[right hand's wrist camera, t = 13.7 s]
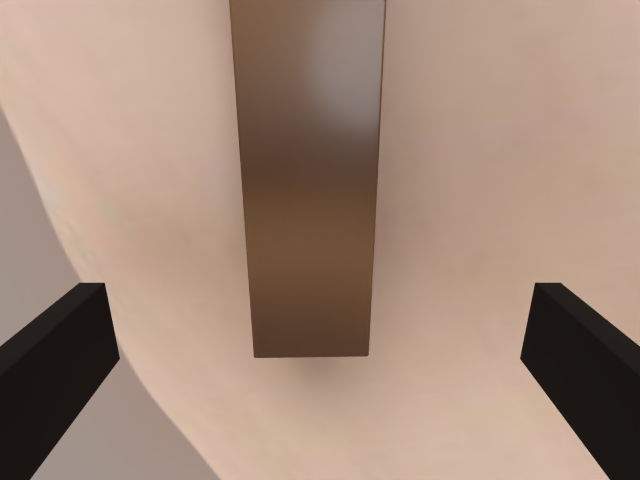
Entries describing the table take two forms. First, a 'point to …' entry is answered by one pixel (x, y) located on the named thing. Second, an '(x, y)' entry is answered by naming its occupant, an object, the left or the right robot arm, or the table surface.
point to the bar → (309, 169)
